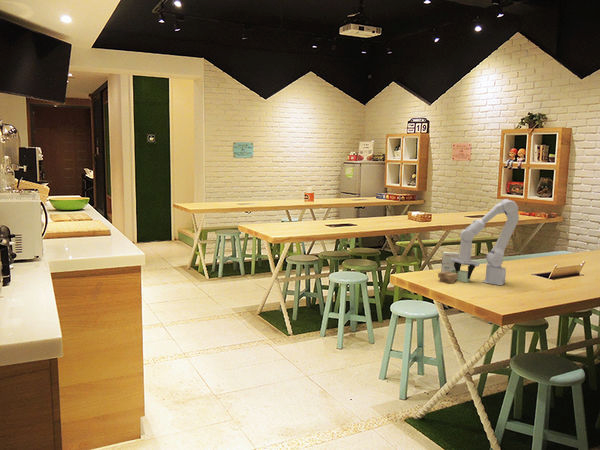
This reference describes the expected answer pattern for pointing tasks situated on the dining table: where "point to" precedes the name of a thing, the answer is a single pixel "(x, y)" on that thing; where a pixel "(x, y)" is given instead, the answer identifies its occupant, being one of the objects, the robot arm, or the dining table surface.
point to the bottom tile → (447, 281)
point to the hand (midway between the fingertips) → (463, 277)
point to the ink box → (448, 261)
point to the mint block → (463, 276)
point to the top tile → (447, 275)
